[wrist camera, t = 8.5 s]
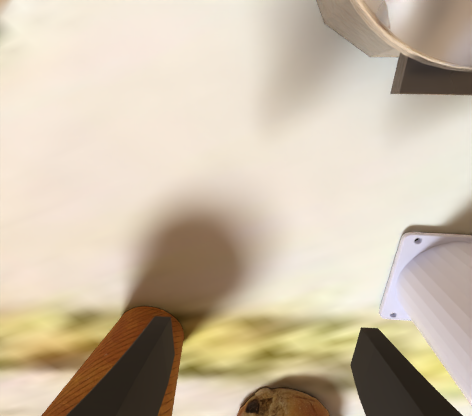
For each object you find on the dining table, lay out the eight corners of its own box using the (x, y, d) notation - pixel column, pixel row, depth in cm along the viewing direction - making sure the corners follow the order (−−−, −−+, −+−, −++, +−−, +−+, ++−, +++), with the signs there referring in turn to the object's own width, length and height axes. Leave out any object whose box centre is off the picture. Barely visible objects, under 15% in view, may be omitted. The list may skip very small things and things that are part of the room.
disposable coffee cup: (184, 284, 22) (115, 465, 11) (211, 361, 26) (179, 555, 15) (86, 298, 24) (-60, 470, 13) (125, 368, 27) (36, 552, 16)
